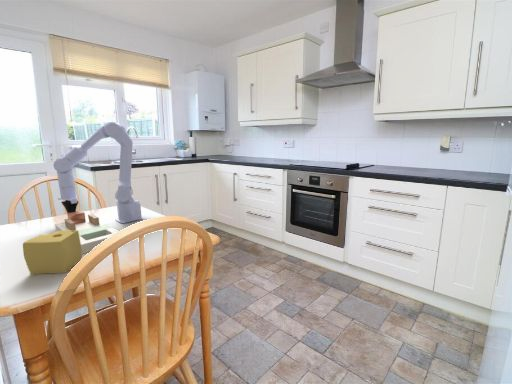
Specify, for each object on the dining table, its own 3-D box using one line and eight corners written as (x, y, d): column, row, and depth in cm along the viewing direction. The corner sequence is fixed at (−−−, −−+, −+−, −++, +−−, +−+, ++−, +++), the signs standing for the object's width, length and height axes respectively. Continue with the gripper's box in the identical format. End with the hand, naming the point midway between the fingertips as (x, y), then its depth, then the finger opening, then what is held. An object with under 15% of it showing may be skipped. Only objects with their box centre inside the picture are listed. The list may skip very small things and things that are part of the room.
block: (82, 219, 122) (80, 210, 121) (85, 221, 118) (84, 212, 117) (68, 222, 118) (67, 213, 117) (72, 224, 115) (70, 215, 114)
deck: (93, 222, 126) (91, 210, 125) (124, 241, 105) (122, 225, 103) (56, 231, 116) (53, 217, 115) (82, 253, 95) (79, 236, 93)
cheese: (50, 259, 90) (44, 230, 88) (85, 258, 91) (80, 228, 89) (27, 276, 80) (20, 243, 78) (66, 273, 81) (61, 241, 79)
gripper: (51, 185, 122) (57, 215, 124) (60, 190, 112) (66, 222, 115) (70, 183, 127) (75, 212, 129) (80, 187, 117) (85, 218, 120)
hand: (72, 216), depth 122 cm, fingers closed
